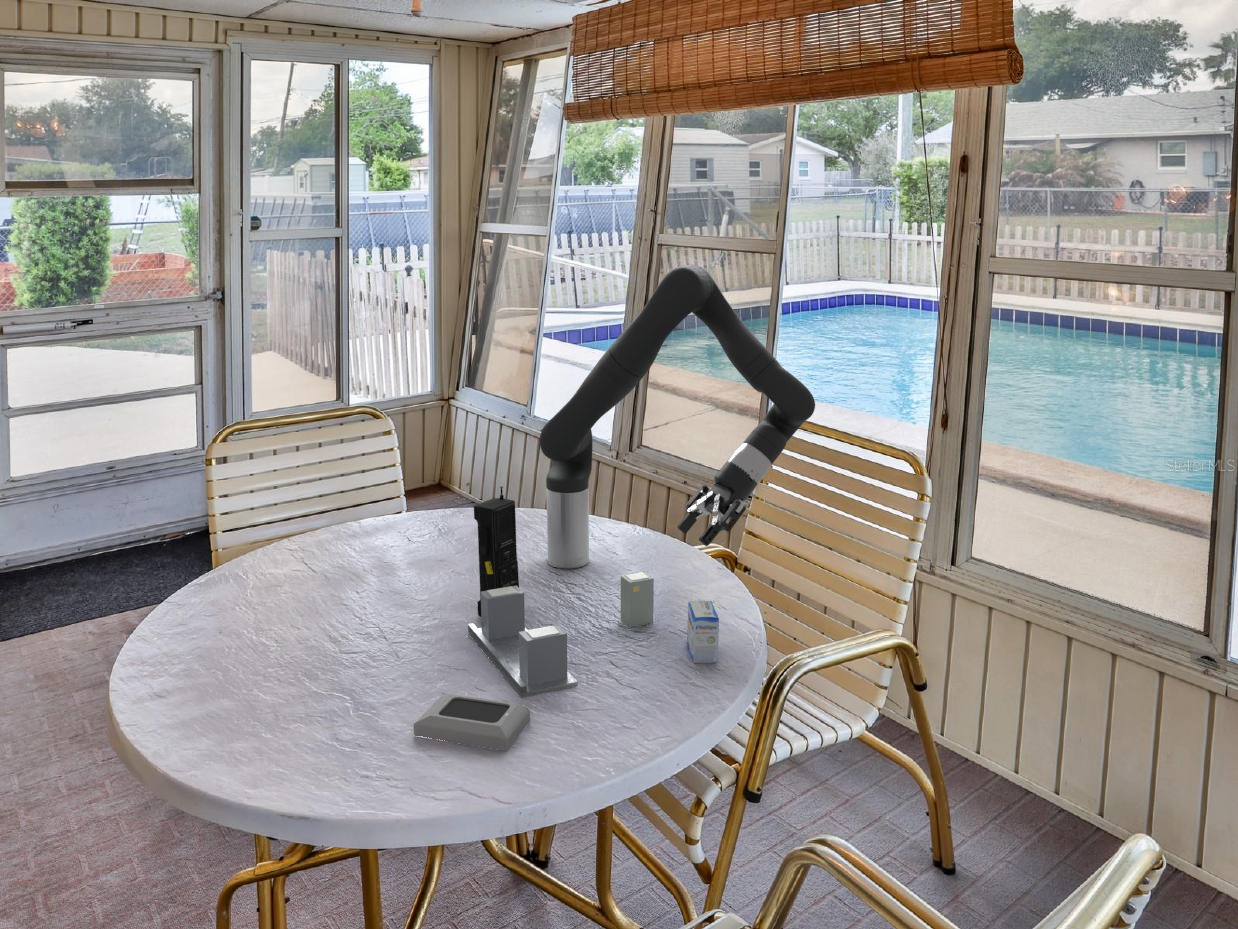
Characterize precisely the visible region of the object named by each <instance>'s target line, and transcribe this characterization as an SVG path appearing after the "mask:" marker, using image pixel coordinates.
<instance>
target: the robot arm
mask: <svg viewBox="0 0 1238 929" xmlns="http://www.w3.org/2000/svg"><path fill="white" fill-rule="evenodd" d="M691 314H693V315H694V316H696V317H697V318H698V319H699V320H701V321H702V323H704V324H705V326H707V327H708V329H709V330H710V331H711V332H712V334H713V335H714V336H715V337H716V340H717V341H718V343H719V344H720V347H721V348H722V349H723V351H724V354H725V355H726V356H727V358H728V360H729V361H730V362H731V363H730V364H732V366H733V367H734V368H735V370H737V372H738V373H739V374H740V375H741V377H743V379H745V381H746V382H747V383H748V384H749V385H750V386H751V387H752V389H754V390H755V391H756V392H757V393H758V392H759V393H762V394H764V395H765V396H766V397H767V398H768V399H769V401H771V402H772V405H771V407H770V408H769V410H768V411H767V413H766V414H765V416H764V417H763V418H762V420H761V422H760V423H759V424H757V426H756V427H754V428H753V430H752V431H751V432H750V434H749V435H748V436H747V437H746V438H745V439H744V441H743V442H742V443H741V445H739V447H737V449H735V451H733V453H732V454H731V455H730V456H729V458H728V459H727V460H726V462H725V463H724V464H723V465H722V467H721V468H720V469H719V470H718V472H717V473H716V475H714V477H713V480H714V482H715V483H714V485H713V486H712V487H711V488H710V487H709V486H708V485H707V484H705V483H703V484H702V485H701V486H700V487H699V488H698V489H697V491H696V492H695V493H694V494H693V495H692V497H691V498H690V499H689V500H688V501H687V502H686V504H685V508H686V509H687V513H686V515H685V516H684V517H683V518H682V520H681V521H680V522H679V523H678V525H677V529H678V530H679V531H680V532H681V533H683V534H685V535H686V534H688V533H689V531H690V529H691V528H692V527H693V526H694V524H696V522H697V521H698V519H699V518H701V517H702V516H709V515H710V514H711V515H712V520H711V524H708V526H707V527H706V528H705V530H703V533H702V534H701V535H700V536H699V538H698V542H700V543H701V544H702V545H704V546H705V547H709V545H710V544H711V543H712V542H713V541H714V539H715V538H716V537H718V536H717V535H718V534H719V533H720V532H721V533H722V532H723V531H725V532H727V533H729V532H730V531H731V530H733V527H734V526H735V525H736V523H737V522H738V520H740V518H741V517H742V516H743V514H744V513H745V512H746V510H747V507H746V506H745V504H743V502H745V501H747V500H748V498H749V496H750V495H751V494H752V493H753V491H755V489H756V488H757V487H758V485H759V484H760V483H761V481H762V480H763V479H764V478H765V477H766V475H767V473H768V471H769V469H770V468H771V466H772V465H773V464H774V463H775V461H776V460H777V459H778V458H779V456H780V455H781V454H782V453H783V451H784V449H785V448H786V445H787V443H788V441H789V440H790V439H791V438H793V436H794V435H795V433H796V432H797V430H799V429H800V428H801V426H802V425H803V424H804V423H805V422H806V421H807V420H809V419H810V418H811V417H812V416H813V414H814V412H815V409H816V401H815V398H814V396H813V394H812V393H811V391H810V390H809V388H807V386H806V385H805V384H804V383H803V382H801V380H799V379H798V378H797V377H796V376H794V375H793V374H792V373H790V372H789V371H788V370H786V369H785V368H784V367H783V365H781V364H780V362H779V361H778V360H777V359H776V358H775V357H774V355H773V354H772V353H771V352H770V351H769V350H768V348H766V346H764V344H762V341H760V340H759V339H758V338H757V337H756V336H755V335H754V334H753V333H752V331H751V330H750V329H749V327H748V326H747V325H746V324H745V322H743V320H741V318H740V317H739V315H738V314H737V312H736V311H735V310H734V308H733V307H732V306H731V304H730V303H729V301H727V299H726V297H725V296H724V294H723V293H722V291H721V288H720V287H718V285H717V283H716V282H715V280H714V278H713V277H712V275H711V274H710V273H709V271H708V270H706V268H704V267H703V266H700V265H698V264H685V265H681V266H679V265H678V266H677V267H674V268H672V269H671V270H669V271H667V272H666V274H665V275H664V276H663V278H662V279H661V280H660V282H659V283H658V286H657V287H656V288H655V290H654V292H653V293H652V295H651V296H650V298H649V299H648V300H647V303H646V304H645V305H644V307H643V308H642V309H641V311H640V312H639V314H638V315H637V316H636V317H635V318H634V319H633V320H632V321H631V322H630V323H629V325H628V326H627V327H626V328H625V329H624V330H623V331H622V332H621V333H620V335H619V336H618V337H617V338H616V339H615V341H614V342H613V343H612V344H611V345H610V346H609V347H608V349H607V350H606V351H605V352H604V353H603V354H602V356H601V358H600V359H599V360H598V361H597V362H596V364H595V365H594V366H593V368H592V370H591V371H590V372H589V373H588V375H587V376H586V377H585V379H584V381H583V382H582V383H581V384H580V386H579V387H578V389H577V390H576V392H575V393H574V394H573V396H572V397H571V398H570V399H569V400H568V401H567V402H566V403H565V404H564V405H563V407H561V409H559V411H558V412H556V414H554V415H553V416H552V417H551V418H550V419H549V420H548V421H547V422H546V423H545V424H544V426H543V427H542V429H541V431H540V435H539V447H540V450H541V452H542V453H543V455H544V456H545V457H546V458H548V459H549V460H552V463H551V466H550V469H549V470H548V473H547V475H546V478H545V487H546V488H545V489H546V497H545V498H546V536H547V539H546V541H547V543H546V544H547V546H546V548H547V552H546V553H547V554H546V556H547V563H548V565H550V566H551V567H555V568H558V569H577V568H581V567H584V566H586V565H588V564H589V563H590V519H589V518H590V506H589V504H590V503H589V500H590V499H589V492H590V490H589V480H590V476H591V474H592V467H593V432H592V431H593V430H592V428H593V427H594V426H595V424H596V423H597V422H598V421H599V420H600V419H601V418H602V417H603V416H604V415H605V414H607V413H608V412H610V411H611V410H612V409H613V408H615V406H616V405H618V404H619V403H620V402H621V401H622V400H623V399H624V398H625V397H626V396H628V395H629V394H630V393H631V392H632V391H633V389H634V388H635V387H637V385H638V384H639V383H640V382H641V381H642V379H643V378H644V376H646V374H647V373H648V372H649V370H650V369H651V367H652V365H653V364H654V363H655V360H656V358H657V356H658V355H659V352H660V350H661V349H662V346H663V344H664V342H665V341H666V339H667V338H668V337H669V335H670V334H671V333H672V332H673V331H674V330H675V329H676V327H677V326H679V325H680V324H681V322H682V321H683V320H685V319H686V318H687V317H688V316H689V315H691ZM694 503H695V504H694ZM729 520H730V521H729Z"/></svg>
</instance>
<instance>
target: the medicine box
mask: <svg viewBox="0 0 1238 929" xmlns="http://www.w3.org/2000/svg"><path fill="white" fill-rule="evenodd" d="M686 630H687V632H686V634H687V636H686V645H687V647H688V648H687V649H688V651H689V654H690V656H691V657H690V658H691V659H692V662H693V664H707V663H708V664H710V663H711V664H713V663H718V660H719V659H718V658H719V635H720V634H719V632H720V617H719V615H718V613H717V610H716V609H715V606H714V603H713V601H712V600H689V601H688V603H687V629H686Z"/></svg>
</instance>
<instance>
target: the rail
mask: <svg viewBox="0 0 1238 929" xmlns="http://www.w3.org/2000/svg"><path fill="white" fill-rule="evenodd" d="M526 630H528V628H527V627H525V631H526ZM467 633H469V634H468V636H469V635H470V636H471V637H472V638H473V639H472V638H471V637H470V636H469V637H470V638H471V639H472V640H473V641H474V640H475V642H476V643H477V644H478V645H477V644H476V643H475V642H474V643H475V644H476V645H477V647H478V648H479V647H480V648H481V649H482V650H483V651H482V650H481V649H480V648H479V649H480V650H481V651H482V652H484V653H485V654H486V655H487V656H486V655H485V654H484V653H483V654H484V655H485V656H486V657H487V658H488V657H489V659H490V660H489V659H488V660H489V662H491V661H492V662H491V663H492V665H493V664H494V665H495V666H494V665H493V666H494V667H495V668H496V669H497V670H499V671H500V672H499V671H498V672H499V673H500V674H501V676H502V675H503V676H502V677H503V678H504V679H505V681H506V682H507V681H508V682H507V683H508V684H509V686H510V687H511V688H512V689H513V690H514V691H515V693H516V694H517V695H518V696H519V697H520V698H521V699H523V698H529V697H533V696H538V695H542V694H543V695H544V694H547V693H551V692H556V691H562V690H565V689H570V688H574V687H579V681H578V680H577V678H575V677H574V676H573V675H572V674H571V673H570V672H569V670H567V677H568V678H564V679H559V680H555V681H550V682H545V683H541V684H536V685H531V686H528V685H527V684H526V683H525V682H524V681H523V679H522V678H521V677H520V666H519V635H515V636H510V637H504V638H499V639H494V640H488V639H487V638H486V636H485V635H484V634H483V633H482V627H479V628H478V627H477V626H476V625H475V624H474V623H473V622H471V623H468V624H467Z"/></svg>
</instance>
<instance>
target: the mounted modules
mask: <svg viewBox="0 0 1238 929" xmlns="http://www.w3.org/2000/svg"><path fill="white" fill-rule="evenodd" d="M525 606H526V605H525V592H524V591H523V590H522V589H521V588H520V586H519V587H518V586H510V587H504V588H498V589H492V590H487V591H481V617H480V618H481V628H482V633H483V634H484V635H485V636H486V638H487V639H488V640H494V639H499V638H504V637H510V636H515V635H519V666H520V677H521V678H522V679H523V681H524V682H525V683H526V684H527V685H528V686H531V685H536V684H541V683H545V682H550V681H555V680H559V679H564V678H568V677H567V671H568V633H567V632H566V631H565V630H564V629H563V628H562V627H561V626H560V625H559V624H555V625H548V626H543V627H537V628H533V629H527V630H526V631H525V628H526V616H525V614H526V611H525V610H526V609H525Z"/></svg>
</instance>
